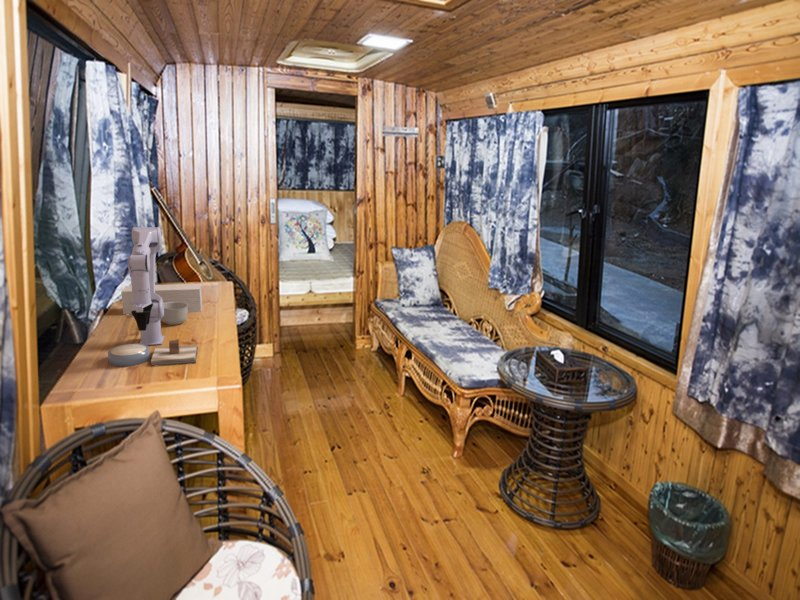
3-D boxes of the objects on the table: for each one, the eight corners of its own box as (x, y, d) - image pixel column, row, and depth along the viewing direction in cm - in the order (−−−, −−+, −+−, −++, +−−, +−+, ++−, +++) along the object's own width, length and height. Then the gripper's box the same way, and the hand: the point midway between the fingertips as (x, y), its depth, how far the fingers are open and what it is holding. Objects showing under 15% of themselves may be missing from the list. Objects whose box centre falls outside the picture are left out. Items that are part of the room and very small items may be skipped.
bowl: (112, 354, 202) (111, 344, 201) (152, 352, 205) (151, 342, 204) (105, 367, 190) (104, 357, 189) (147, 365, 193) (146, 354, 192)
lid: (155, 349, 206) (154, 336, 205) (196, 347, 210) (196, 334, 208) (151, 363, 193) (149, 349, 192) (194, 360, 197) (193, 346, 196)
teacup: (182, 317, 247) (181, 300, 245) (193, 323, 239) (191, 305, 237) (149, 323, 237) (148, 305, 235) (159, 330, 230) (157, 310, 228)
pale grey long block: (123, 315, 248) (121, 291, 245) (127, 308, 258) (125, 285, 255) (201, 312, 256) (199, 289, 254) (202, 306, 266) (201, 283, 264)
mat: (157, 350, 207) (157, 348, 207) (197, 347, 211) (197, 346, 211) (151, 366, 192) (151, 364, 192) (195, 363, 196) (195, 361, 196)
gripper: (131, 285, 202) (134, 322, 205) (124, 294, 188) (128, 333, 191) (153, 284, 204) (156, 321, 207) (147, 293, 190) (150, 332, 193)
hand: (144, 327), depth 199 cm, fingers open, 7 cm apart
